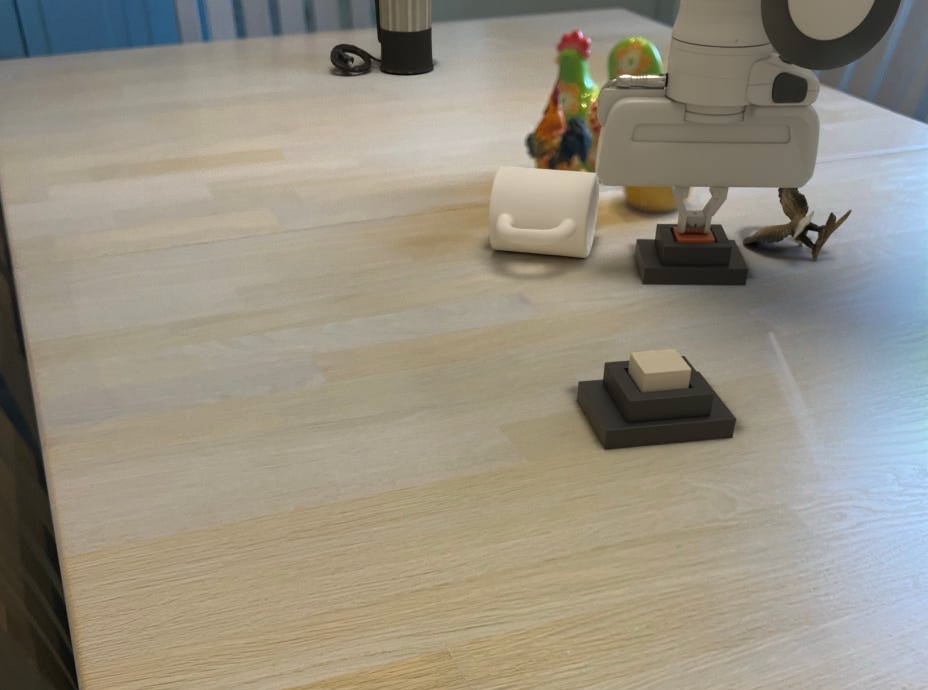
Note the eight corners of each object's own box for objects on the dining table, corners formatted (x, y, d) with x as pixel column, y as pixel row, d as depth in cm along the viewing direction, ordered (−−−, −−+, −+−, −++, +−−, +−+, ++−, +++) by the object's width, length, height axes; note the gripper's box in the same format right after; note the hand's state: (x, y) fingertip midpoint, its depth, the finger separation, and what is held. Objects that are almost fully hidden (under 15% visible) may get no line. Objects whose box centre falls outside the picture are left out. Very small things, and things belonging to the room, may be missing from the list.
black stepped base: (695, 390, 82) (702, 349, 80) (732, 438, 76) (741, 396, 74) (576, 400, 81) (579, 359, 79) (604, 450, 75) (609, 408, 73)
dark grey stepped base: (731, 256, 105) (737, 221, 102) (745, 286, 99) (752, 250, 96) (634, 255, 105) (638, 220, 103) (642, 285, 99) (646, 249, 97)
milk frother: (446, 68, 171) (445, -36, 162) (378, 85, 163) (373, -25, 153) (387, 56, 179) (383, -44, 169) (320, 72, 170) (311, -34, 160)
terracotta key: (706, 244, 102) (709, 226, 101) (712, 257, 99) (715, 239, 98) (670, 244, 102) (673, 226, 101) (675, 257, 99) (677, 239, 98)
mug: (504, 234, 110) (506, 156, 105) (595, 242, 108) (602, 162, 103) (477, 275, 101) (478, 191, 96) (576, 284, 99) (582, 200, 94)
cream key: (672, 369, 78) (675, 348, 77) (688, 390, 75) (691, 369, 74) (627, 373, 78) (630, 351, 77) (641, 395, 75) (644, 373, 74)
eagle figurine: (851, 237, 105) (782, 200, 109) (854, 188, 99) (781, 151, 103) (800, 290, 105) (733, 251, 109) (800, 244, 99) (729, 205, 103)
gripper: (602, 81, 88) (588, 242, 97) (839, 83, 88) (803, 244, 97) (597, 65, 93) (584, 219, 102) (822, 67, 92) (789, 222, 102)
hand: (692, 232), depth 99 cm, fingers closed, pressing on terracotta key
